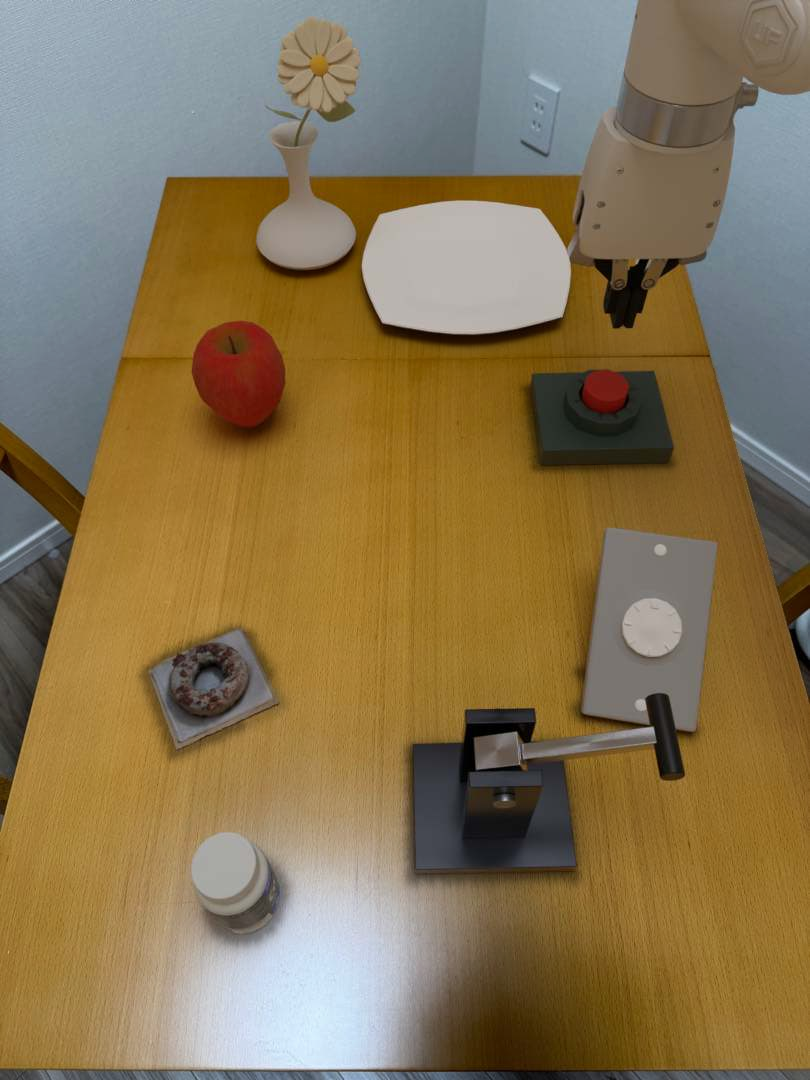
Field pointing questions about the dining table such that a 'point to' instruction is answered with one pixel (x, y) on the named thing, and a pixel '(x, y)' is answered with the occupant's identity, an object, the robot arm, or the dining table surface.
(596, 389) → the stop button
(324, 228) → the flower in vase
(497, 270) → the plate
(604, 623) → the light switch
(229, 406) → the apple
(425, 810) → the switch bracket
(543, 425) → the block
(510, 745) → the switch lever
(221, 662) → the donut
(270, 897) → the pill bottle
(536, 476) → the dining table surface
